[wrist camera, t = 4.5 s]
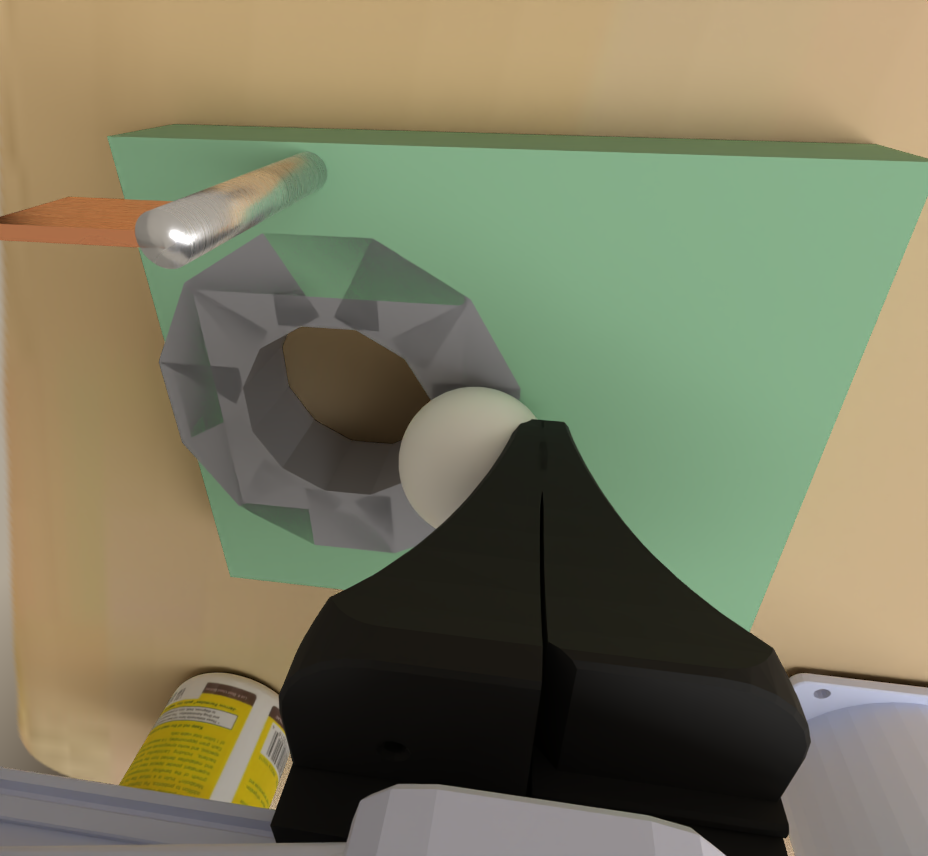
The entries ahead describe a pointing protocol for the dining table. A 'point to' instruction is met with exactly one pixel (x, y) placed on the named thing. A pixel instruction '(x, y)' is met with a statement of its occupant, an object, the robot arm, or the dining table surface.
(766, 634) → the dining table surface
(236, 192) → the flag pin
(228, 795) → the supplement bottle
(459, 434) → the ball
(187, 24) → the dining table surface
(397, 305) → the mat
